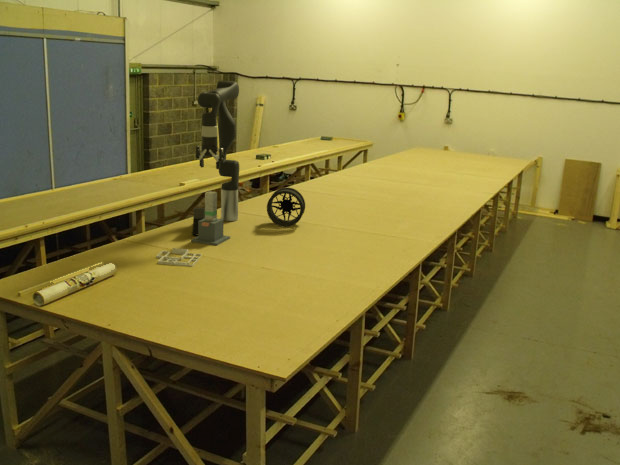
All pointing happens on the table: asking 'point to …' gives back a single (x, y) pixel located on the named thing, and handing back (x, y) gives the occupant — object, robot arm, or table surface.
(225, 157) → the robot arm
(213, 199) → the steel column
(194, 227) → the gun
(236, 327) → the table surface
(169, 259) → the floor plan model
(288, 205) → the wheel rim
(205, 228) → the gray sleeve
